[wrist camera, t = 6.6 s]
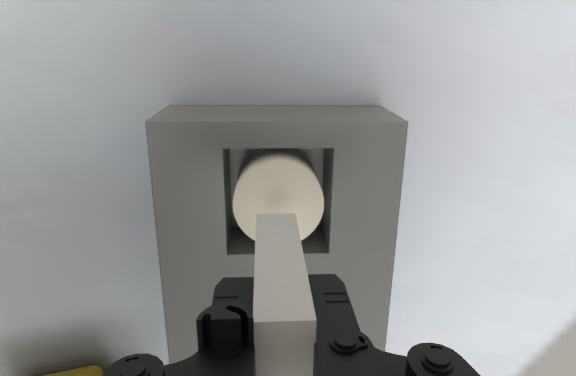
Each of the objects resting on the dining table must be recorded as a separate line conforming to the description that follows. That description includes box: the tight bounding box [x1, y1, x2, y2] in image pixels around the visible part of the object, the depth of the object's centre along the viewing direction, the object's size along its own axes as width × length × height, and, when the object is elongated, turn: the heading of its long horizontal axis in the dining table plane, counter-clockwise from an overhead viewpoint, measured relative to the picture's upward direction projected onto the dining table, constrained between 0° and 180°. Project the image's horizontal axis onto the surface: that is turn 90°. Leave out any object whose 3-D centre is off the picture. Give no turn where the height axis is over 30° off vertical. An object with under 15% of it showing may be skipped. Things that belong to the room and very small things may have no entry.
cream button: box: [233, 148, 324, 241], centre depth 22 cm, size 4×4×3 cm
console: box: [145, 106, 408, 364], centre depth 26 cm, size 12×23×5 cm, turn 179°
